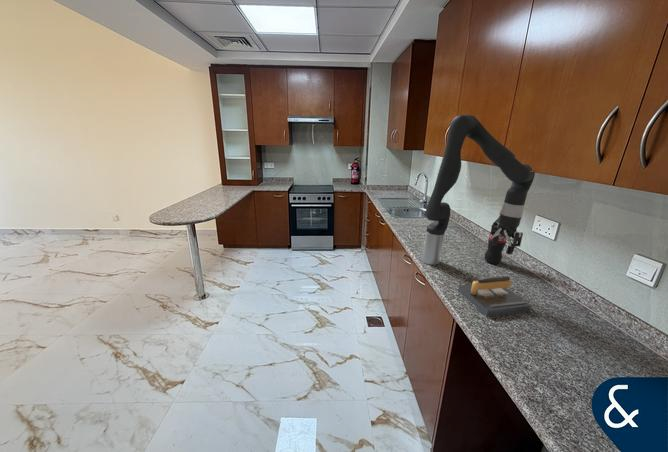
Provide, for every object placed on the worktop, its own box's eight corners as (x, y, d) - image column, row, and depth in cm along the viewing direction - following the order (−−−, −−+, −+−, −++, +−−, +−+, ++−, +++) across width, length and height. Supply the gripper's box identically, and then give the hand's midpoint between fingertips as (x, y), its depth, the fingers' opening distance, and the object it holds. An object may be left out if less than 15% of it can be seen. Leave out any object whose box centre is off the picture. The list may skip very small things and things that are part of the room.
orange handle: (469, 291, 116) (472, 277, 114) (504, 288, 120) (508, 274, 118) (473, 295, 114) (476, 281, 112) (509, 291, 117) (513, 277, 115)
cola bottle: (491, 265, 147) (505, 212, 137) (479, 258, 155) (492, 208, 145) (504, 264, 149) (518, 212, 139) (492, 257, 157) (504, 207, 147)
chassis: (457, 291, 123) (459, 284, 121) (496, 287, 126) (497, 281, 125) (486, 316, 106) (488, 309, 105) (529, 311, 110) (531, 304, 109)
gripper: (490, 209, 118) (482, 243, 124) (516, 219, 105) (506, 257, 110) (506, 208, 119) (497, 242, 125) (533, 219, 106) (522, 256, 112)
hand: (501, 249), depth 118 cm, fingers open, 8 cm apart
